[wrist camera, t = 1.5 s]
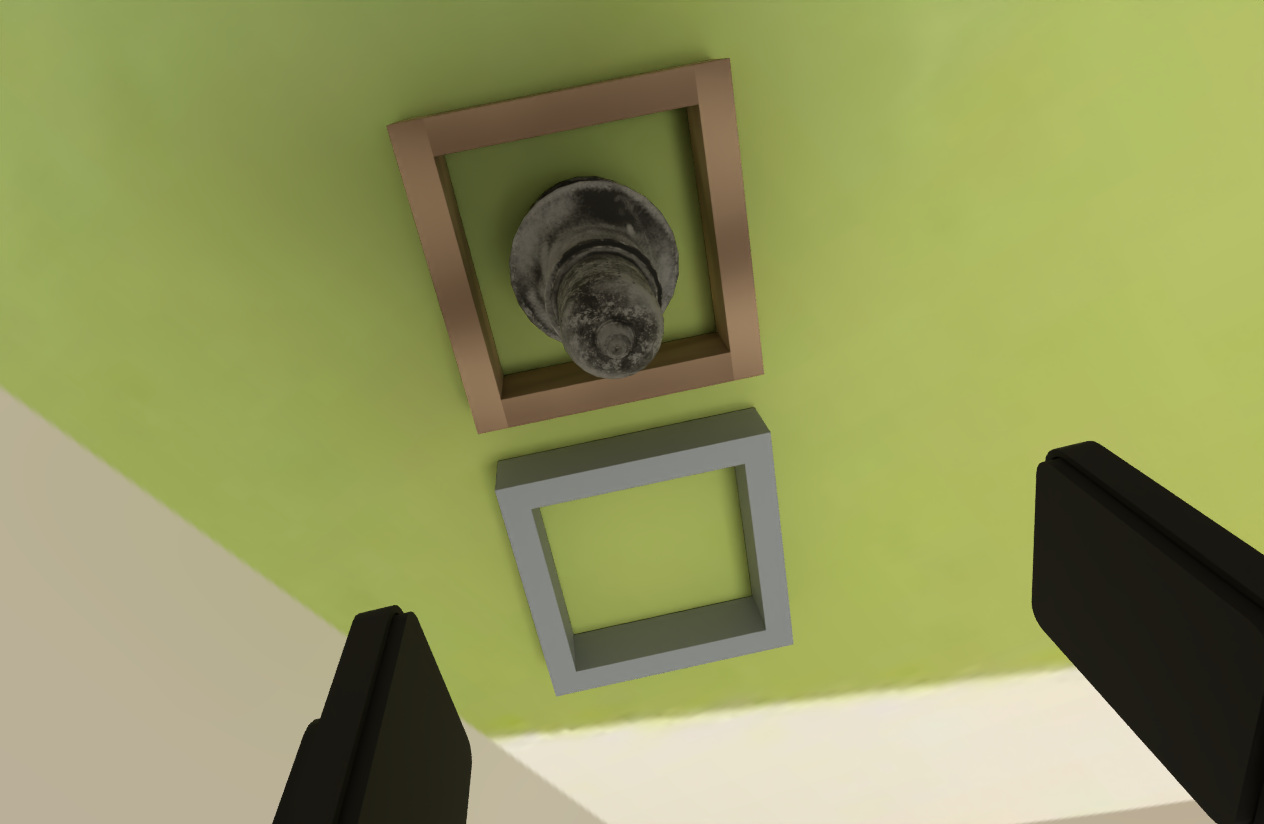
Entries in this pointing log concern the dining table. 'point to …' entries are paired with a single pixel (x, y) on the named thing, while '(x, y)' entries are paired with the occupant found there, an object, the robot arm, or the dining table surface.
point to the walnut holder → (562, 110)
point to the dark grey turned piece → (596, 273)
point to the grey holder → (635, 465)
